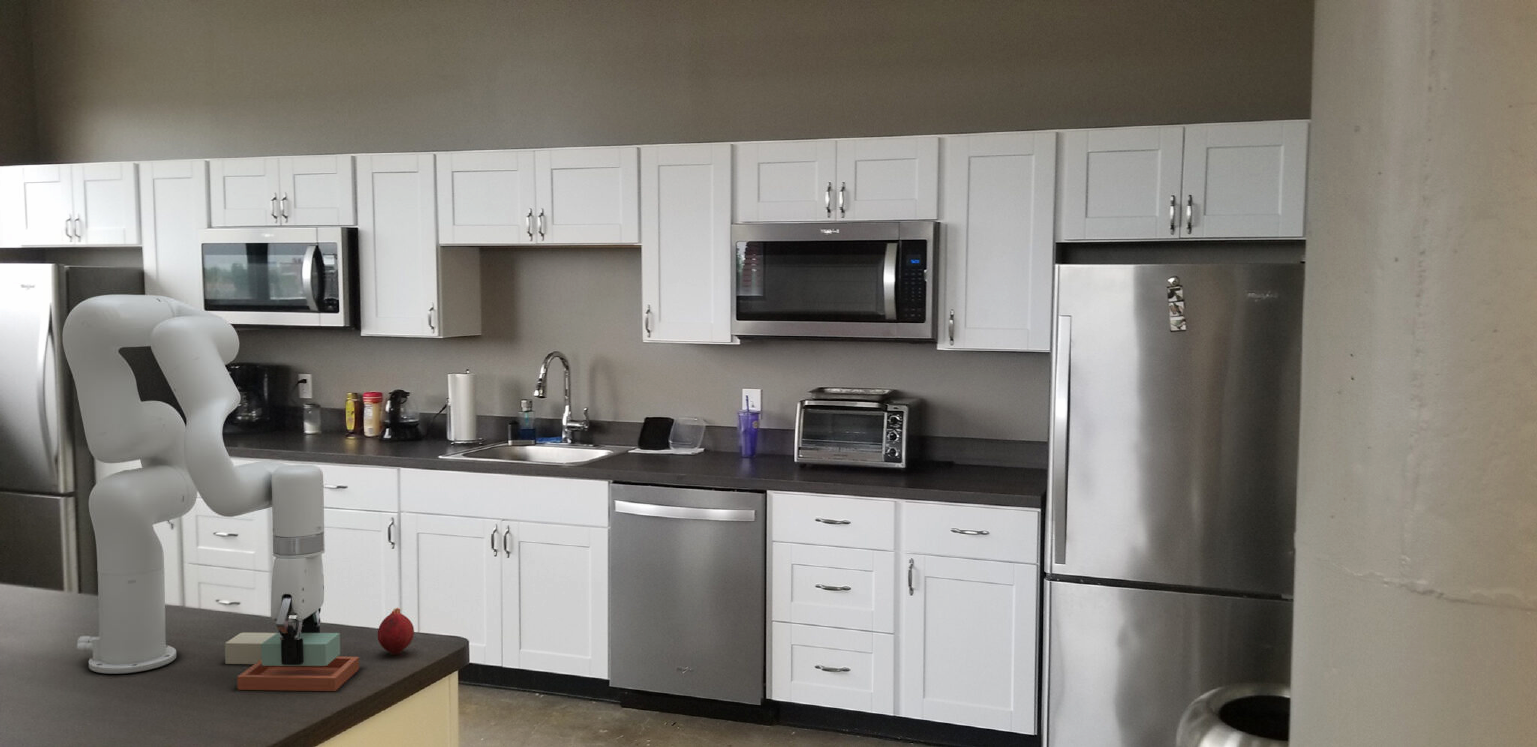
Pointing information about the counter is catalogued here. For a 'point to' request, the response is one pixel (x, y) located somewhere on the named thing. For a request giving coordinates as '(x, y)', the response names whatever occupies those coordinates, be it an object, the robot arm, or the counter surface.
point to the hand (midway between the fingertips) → (301, 656)
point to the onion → (395, 632)
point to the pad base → (304, 649)
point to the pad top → (245, 648)
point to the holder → (299, 676)
